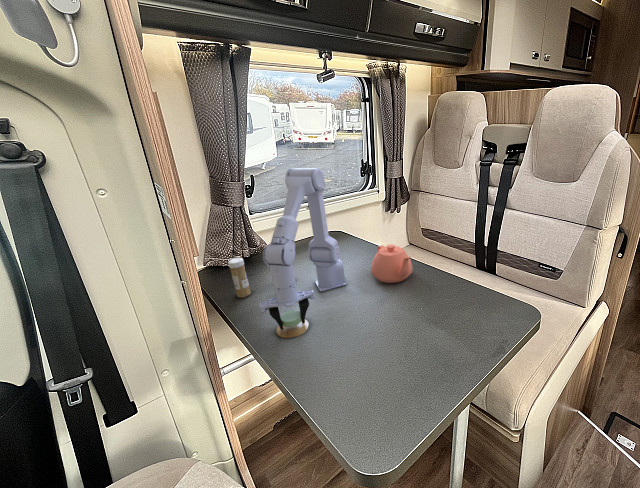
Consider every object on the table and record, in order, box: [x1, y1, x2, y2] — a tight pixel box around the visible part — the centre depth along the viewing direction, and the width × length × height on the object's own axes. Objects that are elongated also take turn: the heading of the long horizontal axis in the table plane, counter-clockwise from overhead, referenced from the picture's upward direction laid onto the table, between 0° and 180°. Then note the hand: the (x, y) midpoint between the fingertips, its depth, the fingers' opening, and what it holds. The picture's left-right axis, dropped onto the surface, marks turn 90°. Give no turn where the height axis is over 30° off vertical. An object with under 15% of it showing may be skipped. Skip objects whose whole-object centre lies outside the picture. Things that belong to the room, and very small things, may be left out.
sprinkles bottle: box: [227, 257, 252, 299], centre depth 108 cm, size 5×5×13 cm
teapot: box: [370, 244, 413, 284], centre depth 118 cm, size 22×16×12 cm
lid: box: [280, 309, 302, 327], centre depth 91 cm, size 6×6×2 cm
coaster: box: [276, 318, 310, 339], centre depth 92 cm, size 9×9×1 cm
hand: (292, 324), depth 92 cm, fingers closed on lid, 5 cm apart
